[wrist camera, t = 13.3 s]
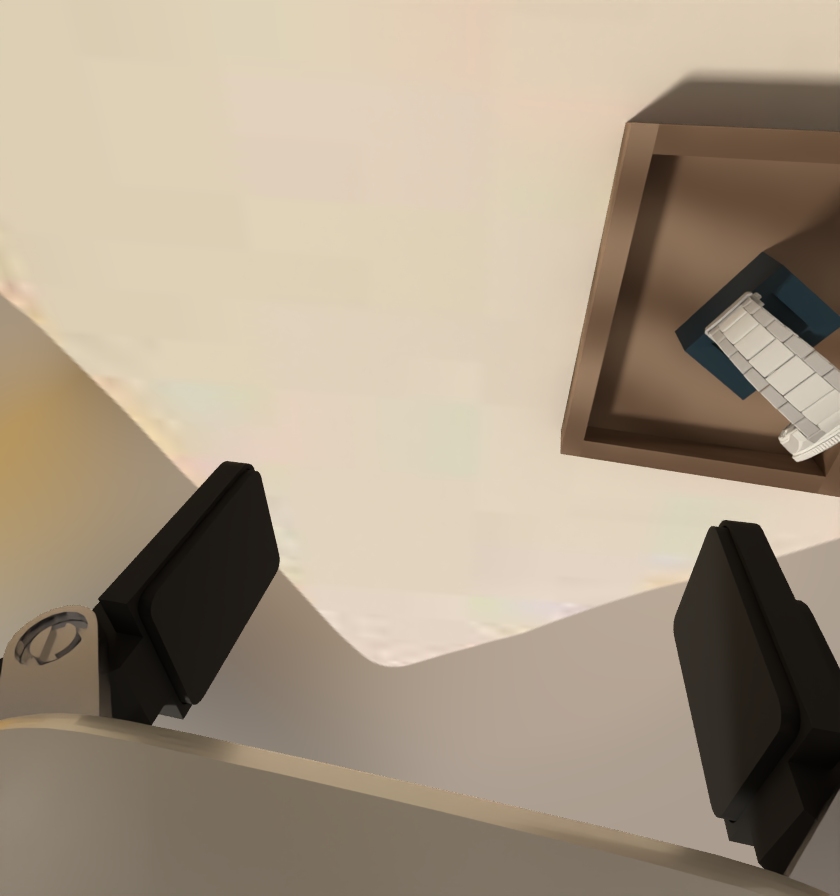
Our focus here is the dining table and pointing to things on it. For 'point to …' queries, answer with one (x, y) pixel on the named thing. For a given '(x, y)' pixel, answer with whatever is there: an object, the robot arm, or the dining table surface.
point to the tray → (700, 298)
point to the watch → (772, 350)
